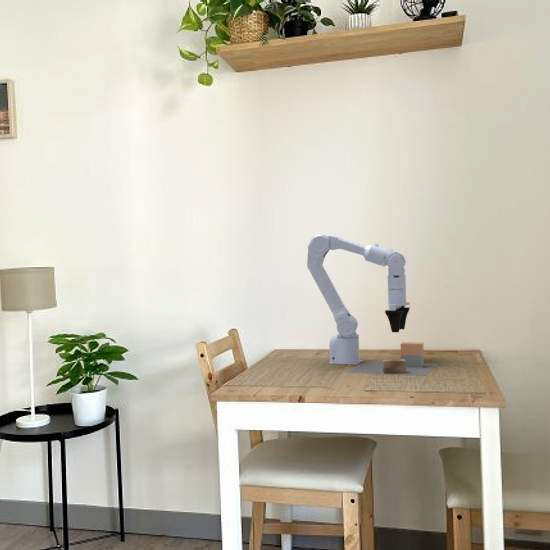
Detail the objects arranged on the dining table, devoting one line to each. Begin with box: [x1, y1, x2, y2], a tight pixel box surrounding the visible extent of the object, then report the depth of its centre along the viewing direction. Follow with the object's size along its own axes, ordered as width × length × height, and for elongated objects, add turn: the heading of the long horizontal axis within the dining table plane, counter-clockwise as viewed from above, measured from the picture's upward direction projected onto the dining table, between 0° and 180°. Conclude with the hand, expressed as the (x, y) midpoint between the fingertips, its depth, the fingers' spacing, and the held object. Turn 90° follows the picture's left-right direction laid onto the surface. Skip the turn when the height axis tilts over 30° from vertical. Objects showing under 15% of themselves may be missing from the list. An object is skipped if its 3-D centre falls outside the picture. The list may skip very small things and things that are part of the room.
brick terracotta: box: [400, 341, 425, 356], centre depth 194 cm, size 6×3×4 cm, turn 65°
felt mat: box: [346, 360, 439, 377], centre depth 193 cm, size 24×20×1 cm
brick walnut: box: [382, 358, 406, 375], centre depth 185 cm, size 6×3×4 cm, turn 86°
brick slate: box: [400, 354, 425, 367], centre depth 194 cm, size 6×3×4 cm, turn 66°
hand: (398, 330), depth 204 cm, fingers open, 7 cm apart
